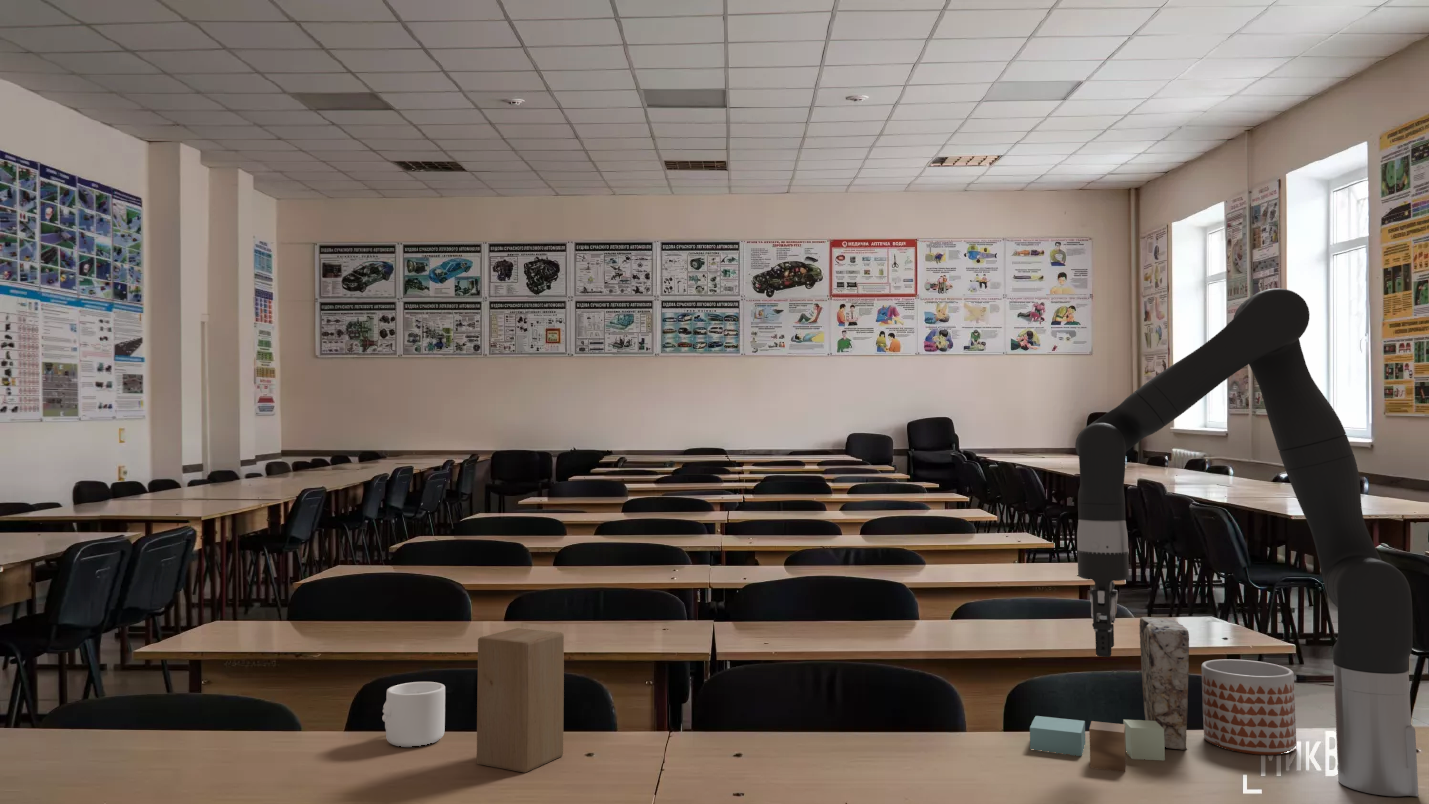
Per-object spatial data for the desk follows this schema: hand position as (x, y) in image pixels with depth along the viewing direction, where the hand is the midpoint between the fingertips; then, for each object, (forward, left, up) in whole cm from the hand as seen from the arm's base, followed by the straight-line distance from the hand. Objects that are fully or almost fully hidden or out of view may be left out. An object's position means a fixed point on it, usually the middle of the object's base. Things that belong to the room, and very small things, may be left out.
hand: (1105, 651), depth 153 cm
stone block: (-8, -19, -18) cm, 27 cm away
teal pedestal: (+8, -7, -18) cm, 21 cm away
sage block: (-5, -8, -18) cm, 20 cm away
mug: (+110, +34, -18) cm, 116 cm away
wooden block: (+86, +36, -18) cm, 95 cm away
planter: (-21, -22, -18) cm, 35 cm away
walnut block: (0, 0, -18) cm, 18 cm away
